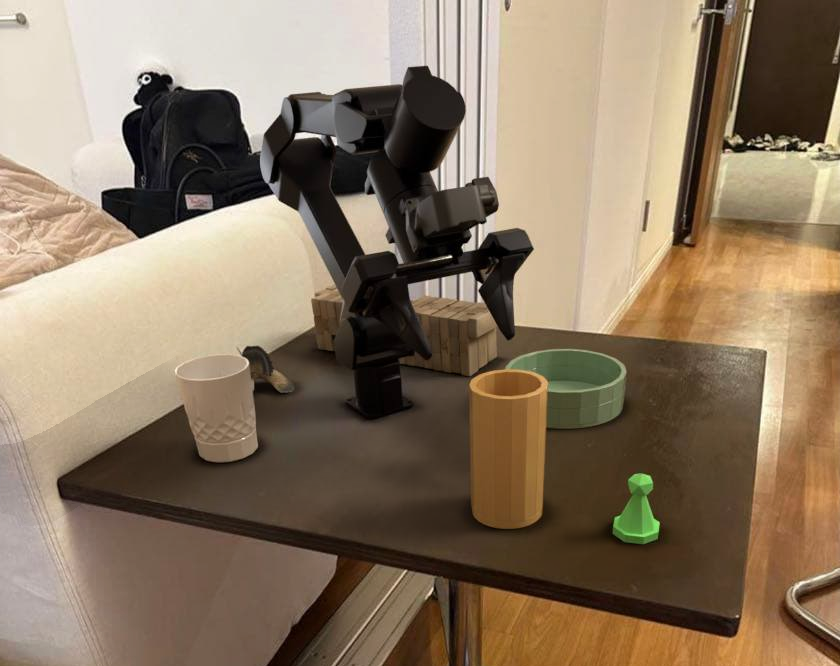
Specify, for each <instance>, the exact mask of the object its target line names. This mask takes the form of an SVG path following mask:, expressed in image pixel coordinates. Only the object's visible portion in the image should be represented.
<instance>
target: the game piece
mask: <svg viewBox="0 0 840 666" xmlns="http://www.w3.org/2000/svg"><path fill="white" fill-rule="evenodd" d="M653 481H654V480H652V476H651V475H648V474H645V473H634V474H633V475H632V476H630V477H629V478H628V480H627V487H628V489H629V492H630V494H632V496H630V498H629V500H628V503H626V506H625V507H624V509H623V510H622V512H621V514H620V515H618V516H614V521H613V525H612V535H613V536H615V537H616V538H618V539H620V540H621V541H622V542H624V543H629V544H637V545H645V544H648V543H651V542H653V541H657V540H658V539H659V533H660V532H659V531H660V521H658V520H657V519H655V518H654V516H653V512H652V509H651V506H650V502H649V500H648V497H647V496H648V495H649V494H650V493H651V492H652V491H653V490H654V482H653Z"/></svg>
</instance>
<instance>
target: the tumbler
mask: <svg viewBox="0 0 840 666" xmlns="http://www.w3.org/2000/svg"><path fill="white" fill-rule="evenodd" d="M468 394H469V397H468V399H469V400H468V401H469V403H468V404H469V453H470V500H471V501H470V505H471V513H472V516H473V517H474V519H475V520H476V521H477V522H478V523H480V524H482V525H485V526H487V527H489V528H493V529H500V530H514V529H515V530H516V529H520V528H527V527H529V526H531V525H533V524H535V523H536V522H538V521H539V520H540V518H541V517H542V515H543V512H544V502H545V501H544V499H545V477H546V475H545V473H546V453H547V451H546V447H547V403H548V381H547V380H546V379H545V378H544V377H543V376H541V375H539V374H537V373H535V372H530V371H525V370H514V369H505V368H504V369H497V370H496V369H495V370H490V371H486V372H483V373H480V374H477V375H476V376H475V377H473V378H472V379H471V380H470V383H469V385H468Z"/></svg>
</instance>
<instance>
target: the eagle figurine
mask: <svg viewBox="0 0 840 666" xmlns="http://www.w3.org/2000/svg"><path fill="white" fill-rule="evenodd" d="M236 349H237V351H238V353H239V354H240V356H242V357H245V358H246V359H247V360H248V361H249V365H250V374H251V382H252V389H253V392H254V391H255V380H256V379H257V380H258V379H262V380H264V381H266V382H267V383H269V384H270V385H272V387H274V389H276V390H277V391H278V392H279V393H280V394H282V393H283V394H288V393H292V392H294V391H295V386H294V383H293V382H292V381H291V380H290V379H289V378H288V377H287V376H286V375H284V374H283V373H281V372H279V371H277V370H276V369H275V367H274V365H273V361H272V360H271V357H270V356H269V353H267V352H266V350H264V348H263V347H261V346H260V345H247V346H245V348H244V349H242V348H240V347H239V346H236Z"/></svg>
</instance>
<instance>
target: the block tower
mask: <svg viewBox="0 0 840 666" xmlns="http://www.w3.org/2000/svg"><path fill="white" fill-rule="evenodd" d="M410 301H411V303H412V305H413V308H414V310H415V312H416V314H417V317H418V319H419V321H420V323H421V326H422V328H423V330H424V332H425V335H426V337H427V339H428V342H429V345H430V348H431V352H432V357H431V358H430V359H429V360H424V359H423V358H422V357H421V356H420V355H419V354H418V353H417V352H415V355H414V356H411V357H410V356H408V357H404V358H400V359H399V361H400V365H401V364H402V365H407V366H411V367H415V366H416V367H419V368H424V369H429V370H434V371H438V372H445V373H449V374H451V373H455V374H461V375H462V376H463V377H464V376H466V377H471V376H472V375H474V374H476V373H477V372H479V369H481V368H483V367H485V366H486V365H488V363H490V362H491V361H493V360H494V359H496V358H497V357H498V352H497V351H498V349H497V328H498V326H497V324H496V322H495V321H494V319H493V317H492V315H491V313H490V312H489V310H488V308H487V306H486V304H485V303H484V302H474V301H467V300H458V299H455V298H448V297H440V296H439V297H437V296H431V295H423V296H421V297H419V298H416V299H414V300H412V299H410ZM310 302H311V303H310V304H311V308H312V314H313V322H314V329H315V332H316V333H315V338H316V343H317V349H318V350H323V351H329V352H330V351H331V352H335V350H334V345H333V342H334V339H335V337H336V334H337V332H338V330H339V327H340V316H341V310H342V304H343V300H342V297H341V295H340V293H339V291H338V289H337V287H336V285H335V284H332V285H329V286H327V287H325V288H324V289H321V290H318V291H316V292H314V296H313V297H311V299H310Z"/></svg>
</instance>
